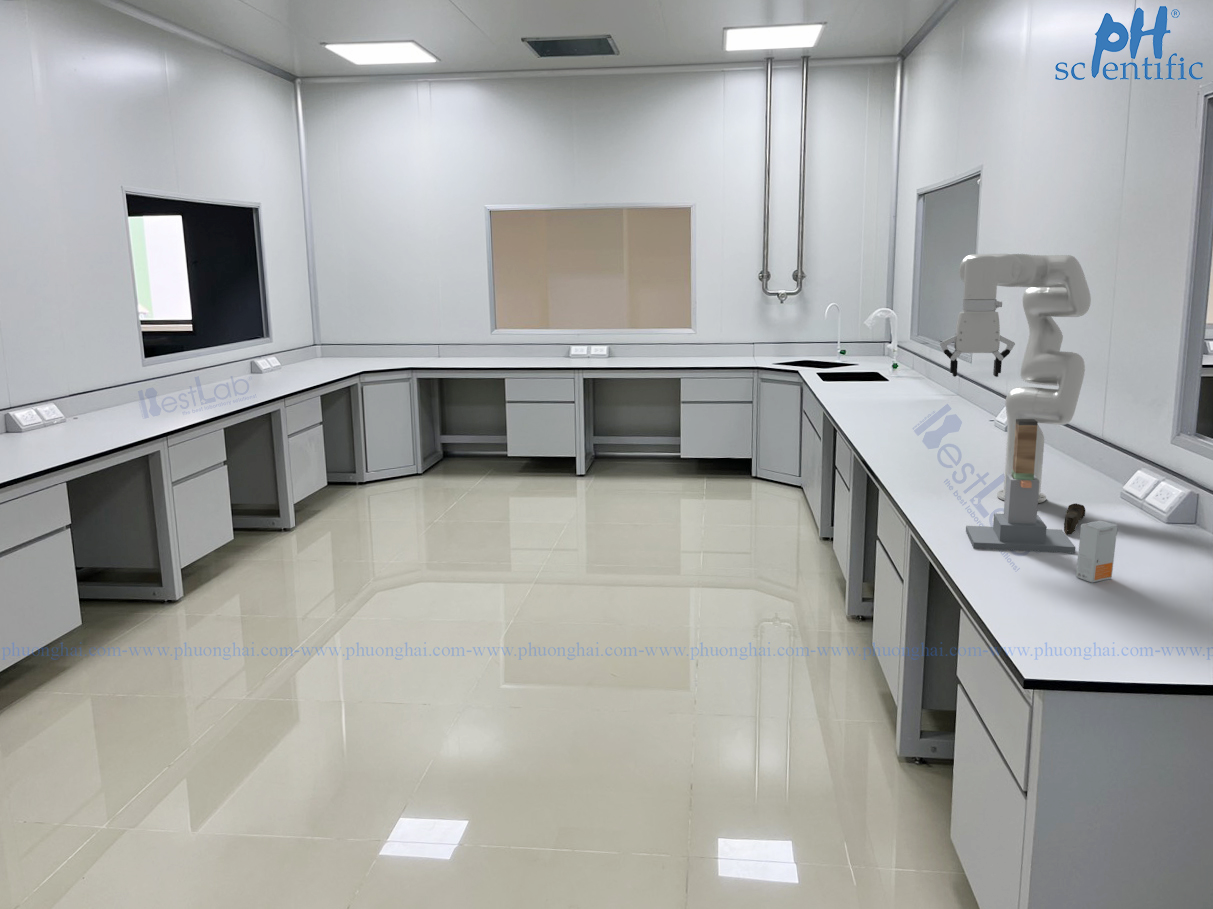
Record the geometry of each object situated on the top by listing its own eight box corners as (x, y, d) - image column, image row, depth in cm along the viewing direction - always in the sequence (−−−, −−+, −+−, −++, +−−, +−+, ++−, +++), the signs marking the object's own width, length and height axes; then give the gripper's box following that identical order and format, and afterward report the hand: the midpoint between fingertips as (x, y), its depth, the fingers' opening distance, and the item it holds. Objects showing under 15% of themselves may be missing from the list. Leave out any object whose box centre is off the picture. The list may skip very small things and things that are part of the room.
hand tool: (1068, 516, 242) (1069, 499, 241) (1084, 518, 240) (1086, 501, 239) (1054, 535, 227) (1055, 517, 226) (1072, 538, 225) (1073, 519, 224)
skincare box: (1092, 583, 193) (1097, 528, 191) (1075, 577, 197) (1080, 523, 195) (1113, 579, 196) (1118, 524, 193) (1095, 573, 200) (1100, 519, 197)
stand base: (965, 531, 231) (969, 469, 228) (1061, 535, 226) (1066, 472, 223) (973, 548, 218) (977, 482, 215) (1074, 553, 213) (1080, 486, 209)
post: (1011, 487, 222) (1015, 418, 218) (1029, 488, 221) (1034, 418, 217) (1014, 491, 218) (1018, 421, 214) (1032, 492, 217) (1037, 422, 213)
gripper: (1014, 305, 227) (1009, 374, 231) (940, 306, 232) (936, 374, 235) (1019, 307, 220) (1015, 378, 224) (943, 308, 225) (939, 377, 228)
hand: (975, 376), depth 230 cm, fingers open, 9 cm apart
